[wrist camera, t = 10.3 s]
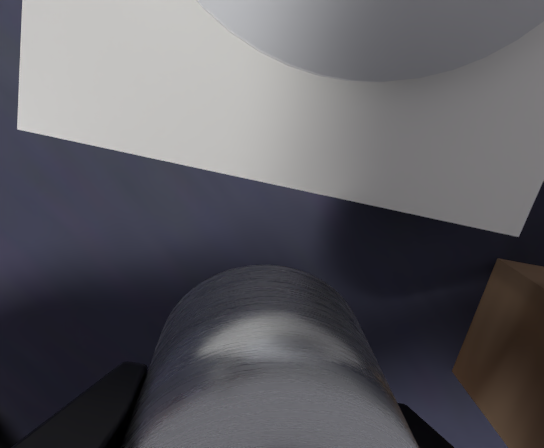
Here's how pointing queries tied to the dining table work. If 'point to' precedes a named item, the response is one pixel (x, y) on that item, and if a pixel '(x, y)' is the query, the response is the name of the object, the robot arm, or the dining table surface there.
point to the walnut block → (508, 354)
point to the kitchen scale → (306, 94)
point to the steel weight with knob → (265, 370)
